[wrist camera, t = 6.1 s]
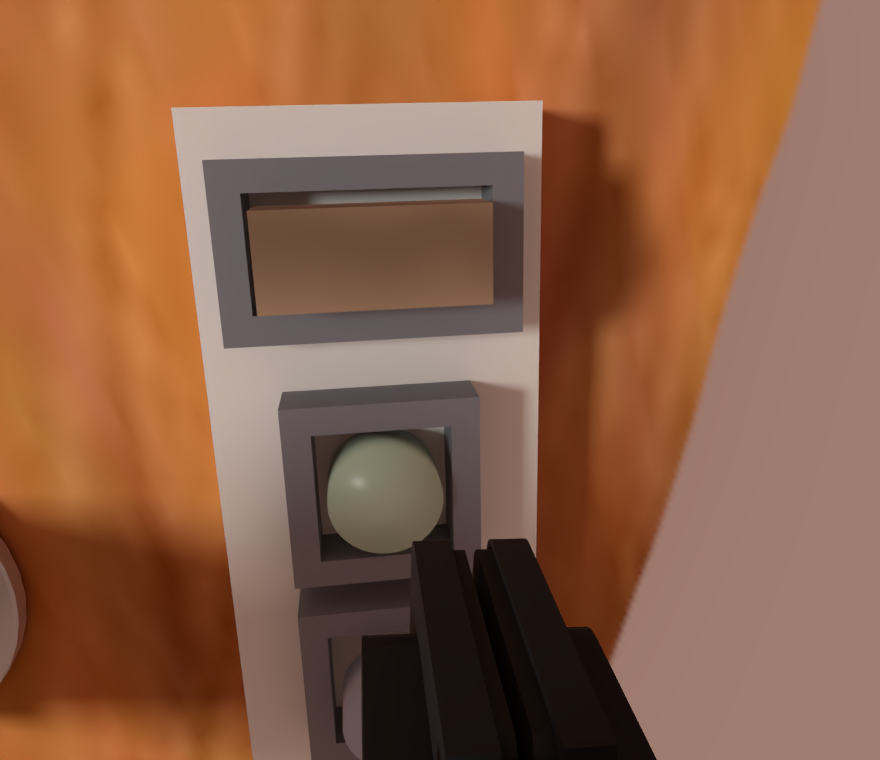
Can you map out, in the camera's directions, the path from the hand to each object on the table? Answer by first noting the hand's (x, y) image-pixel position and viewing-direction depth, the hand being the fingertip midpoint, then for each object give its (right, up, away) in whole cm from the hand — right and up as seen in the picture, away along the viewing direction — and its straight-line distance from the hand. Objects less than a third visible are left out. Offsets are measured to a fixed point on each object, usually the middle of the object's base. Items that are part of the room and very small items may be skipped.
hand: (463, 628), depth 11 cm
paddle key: (-2, +8, +13) cm, 15 cm away
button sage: (-2, 0, +16) cm, 17 cm away
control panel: (-3, +1, +20) cm, 20 cm away
